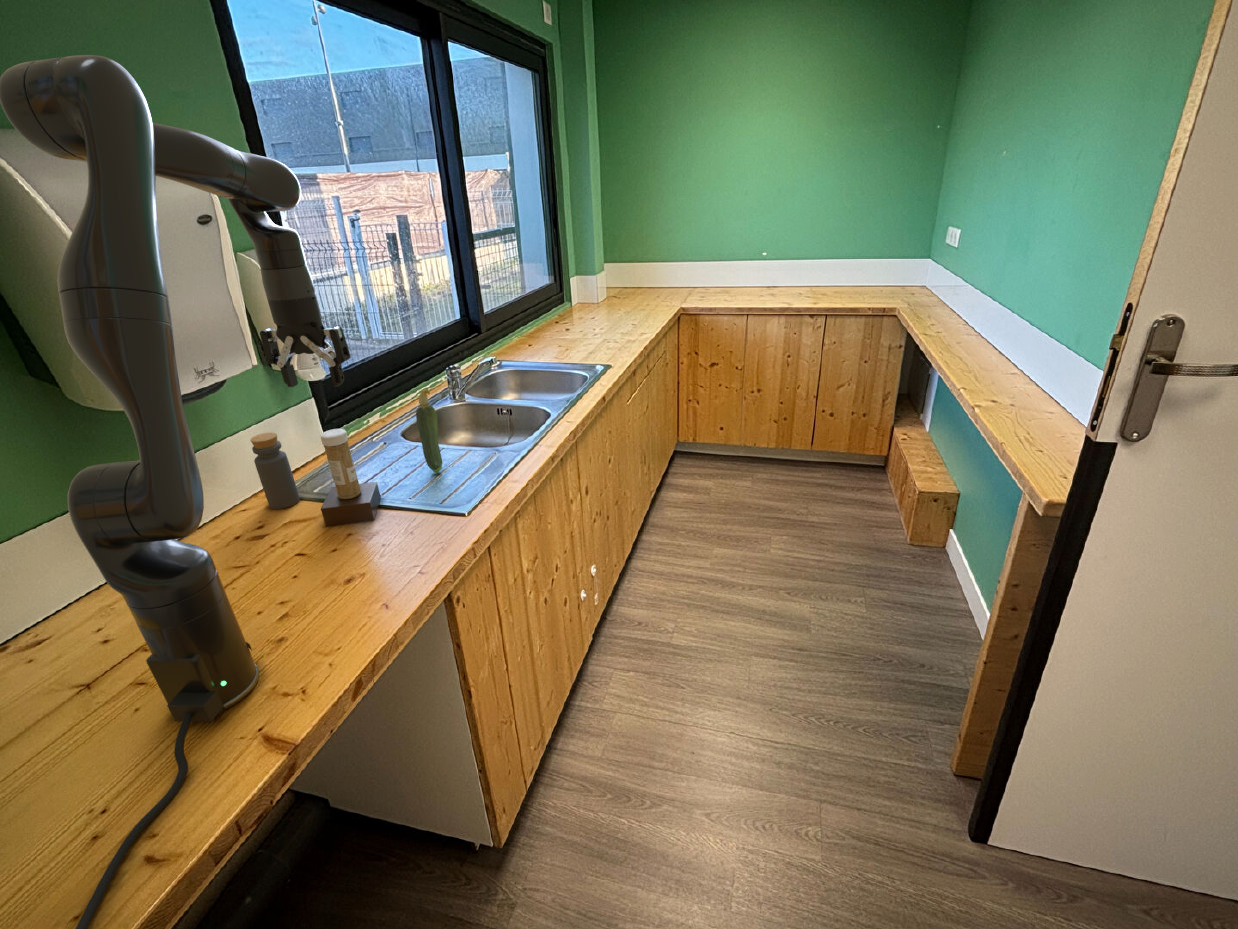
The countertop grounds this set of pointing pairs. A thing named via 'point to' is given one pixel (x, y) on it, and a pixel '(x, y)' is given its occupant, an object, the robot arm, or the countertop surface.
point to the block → (351, 506)
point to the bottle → (274, 471)
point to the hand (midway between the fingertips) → (316, 385)
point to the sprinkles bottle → (341, 463)
